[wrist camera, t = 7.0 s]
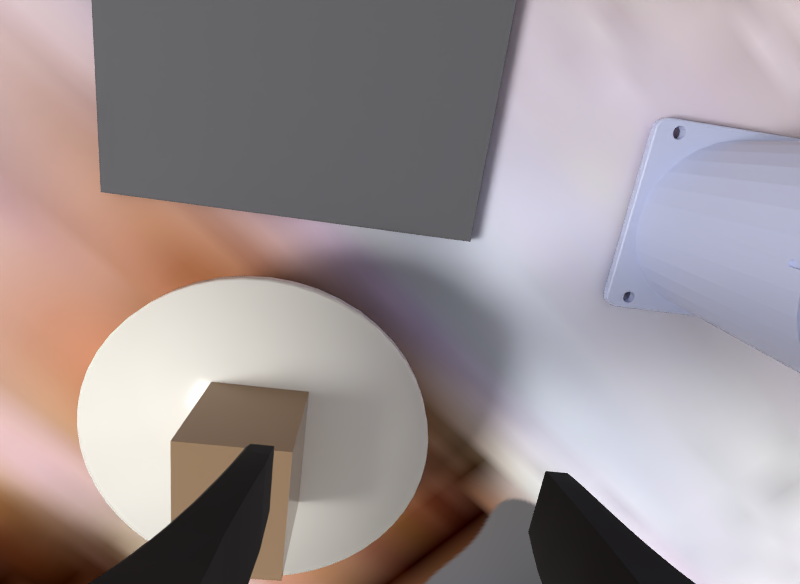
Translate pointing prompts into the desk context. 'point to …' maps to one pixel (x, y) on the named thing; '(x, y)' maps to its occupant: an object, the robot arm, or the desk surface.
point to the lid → (256, 415)
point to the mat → (303, 106)
